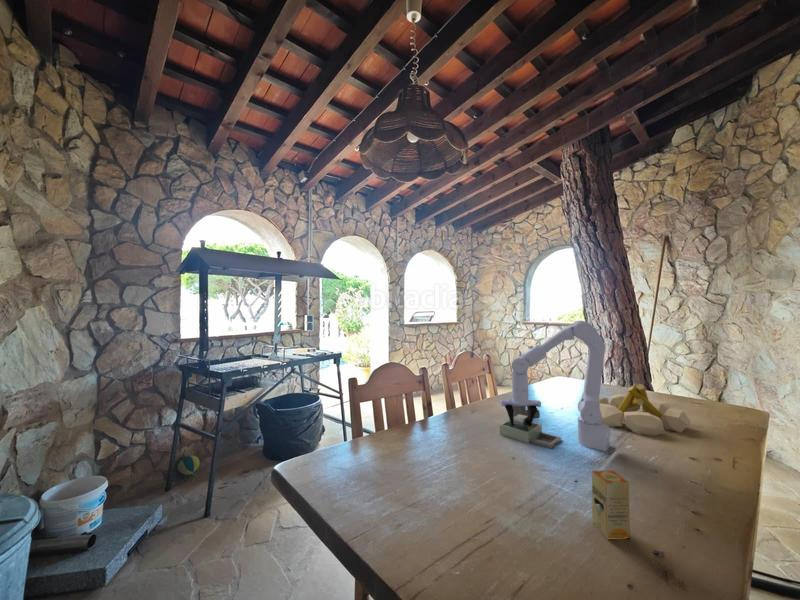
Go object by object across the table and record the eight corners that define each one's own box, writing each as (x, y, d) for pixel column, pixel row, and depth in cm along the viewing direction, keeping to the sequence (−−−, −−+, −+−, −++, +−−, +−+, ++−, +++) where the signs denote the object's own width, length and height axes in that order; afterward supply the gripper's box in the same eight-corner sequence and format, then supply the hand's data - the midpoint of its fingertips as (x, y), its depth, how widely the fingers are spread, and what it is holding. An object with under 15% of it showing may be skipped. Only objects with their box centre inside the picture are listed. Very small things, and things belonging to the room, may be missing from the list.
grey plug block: (528, 434, 125) (528, 416, 125) (523, 438, 121) (522, 419, 121) (519, 432, 127) (518, 414, 127) (513, 436, 124) (513, 417, 124)
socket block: (563, 443, 118) (563, 437, 118) (552, 452, 111) (552, 445, 111) (535, 435, 126) (535, 430, 126) (523, 443, 119) (523, 437, 119)
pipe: (541, 421, 141) (541, 402, 141) (511, 421, 141) (511, 402, 141) (535, 416, 147) (535, 398, 147) (507, 416, 147) (506, 398, 148)
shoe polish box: (613, 523, 75) (612, 470, 75) (629, 539, 70) (628, 482, 70) (592, 524, 75) (591, 471, 75) (607, 539, 70) (606, 482, 70)
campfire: (640, 441, 120) (639, 395, 121) (569, 413, 153) (569, 376, 153) (708, 431, 130) (707, 388, 130) (628, 406, 162) (627, 371, 163)
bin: (541, 436, 124) (541, 424, 125) (528, 445, 117) (528, 432, 117) (513, 429, 132) (513, 417, 133) (499, 436, 125) (499, 424, 125)
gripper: (536, 386, 128) (537, 422, 128) (498, 386, 130) (499, 420, 129) (542, 391, 121) (543, 428, 121) (502, 390, 123) (502, 427, 122)
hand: (520, 425), depth 125 cm, fingers closed on grey plug block, 6 cm apart
